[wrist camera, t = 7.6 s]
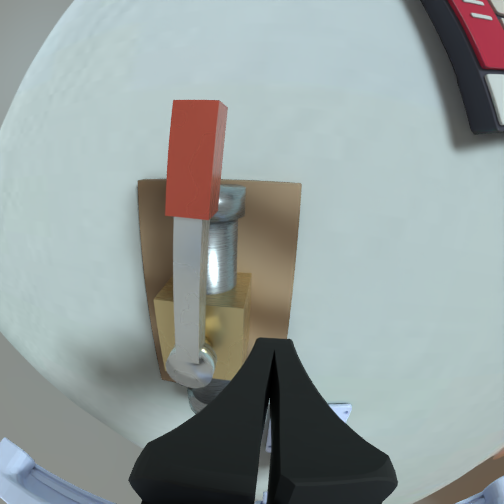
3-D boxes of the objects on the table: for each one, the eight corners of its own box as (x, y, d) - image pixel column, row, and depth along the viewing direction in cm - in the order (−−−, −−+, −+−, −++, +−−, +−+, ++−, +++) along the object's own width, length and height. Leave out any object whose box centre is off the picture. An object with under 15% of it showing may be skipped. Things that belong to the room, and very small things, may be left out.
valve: (247, 387, 24) (239, 438, 19) (191, 380, 25) (174, 428, 19) (255, 184, 18) (245, 198, 13) (178, 182, 19) (138, 195, 13)
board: (279, 388, 24) (279, 394, 24) (164, 374, 25) (161, 379, 24) (300, 183, 18) (301, 184, 18) (142, 179, 19) (137, 180, 18)
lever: (174, 366, 16) (165, 386, 14) (178, 106, 11) (163, 100, 10) (216, 374, 16) (210, 395, 14) (237, 108, 11) (230, 100, 9)
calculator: (502, -26, 6) (568, 125, 10) (481, -11, 10) (539, 126, 14) (414, -49, 8) (504, 132, 12) (398, -24, 12) (470, 135, 16)
